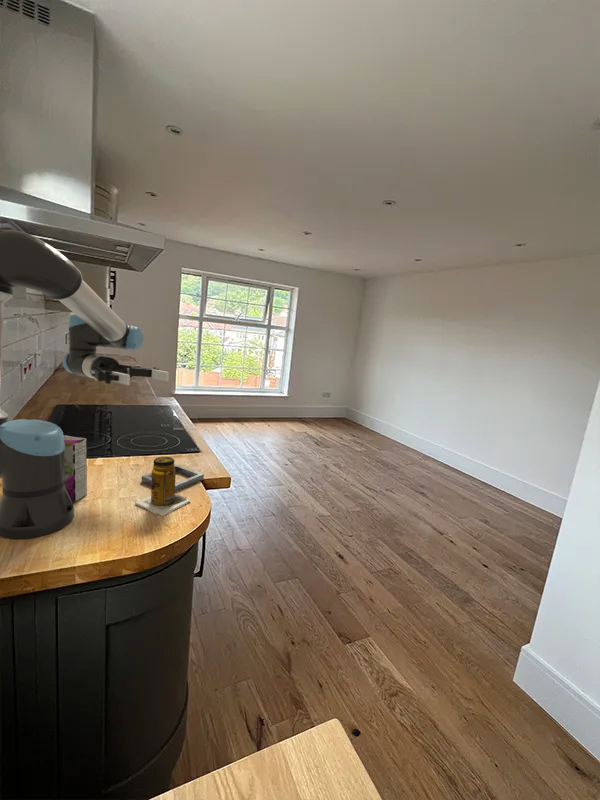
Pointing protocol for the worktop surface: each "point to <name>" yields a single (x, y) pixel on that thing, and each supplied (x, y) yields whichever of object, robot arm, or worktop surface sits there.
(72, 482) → the candy bar box
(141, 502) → the tile
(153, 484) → the condiment
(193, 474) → the socket
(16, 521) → the robot arm
